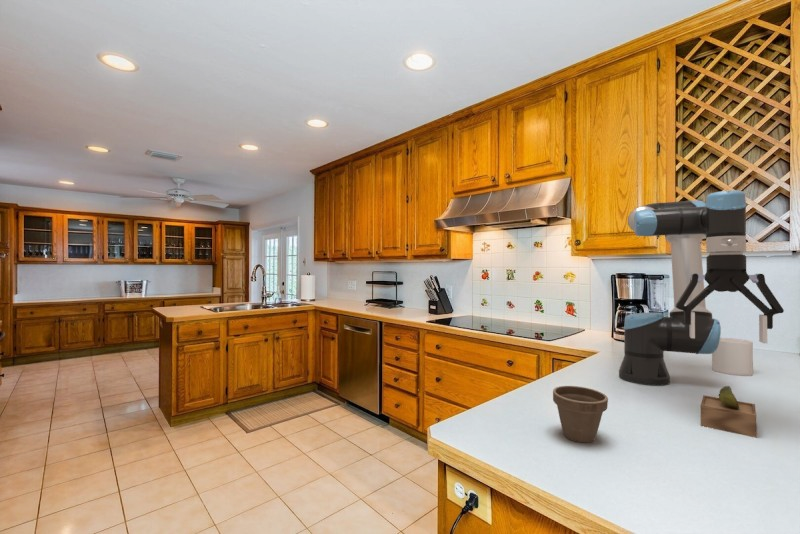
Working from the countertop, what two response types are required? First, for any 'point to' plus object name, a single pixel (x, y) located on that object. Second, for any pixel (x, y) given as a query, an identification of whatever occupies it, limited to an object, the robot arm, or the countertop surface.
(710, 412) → the walnut tray
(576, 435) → the flower pot
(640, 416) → the countertop surface
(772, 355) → the countertop surface
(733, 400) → the lime
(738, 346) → the cup
